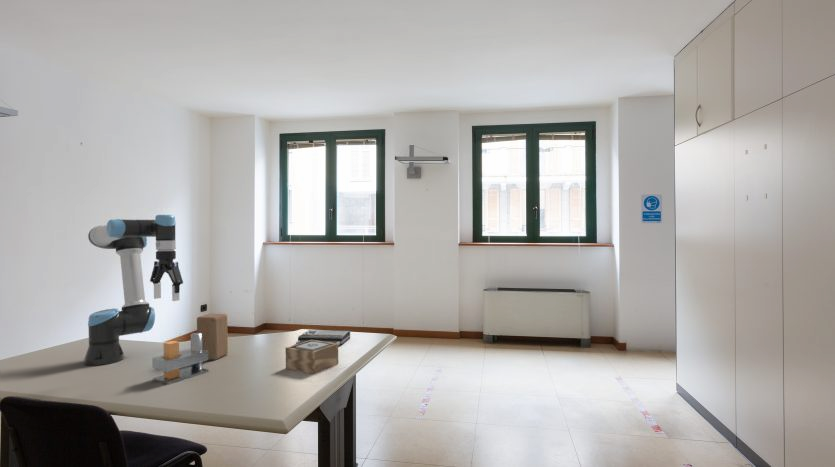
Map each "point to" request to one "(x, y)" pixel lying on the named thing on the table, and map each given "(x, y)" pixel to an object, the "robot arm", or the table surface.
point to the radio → (325, 336)
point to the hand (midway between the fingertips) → (166, 299)
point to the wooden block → (213, 334)
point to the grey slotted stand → (183, 361)
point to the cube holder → (311, 358)
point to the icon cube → (312, 346)
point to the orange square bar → (171, 352)
